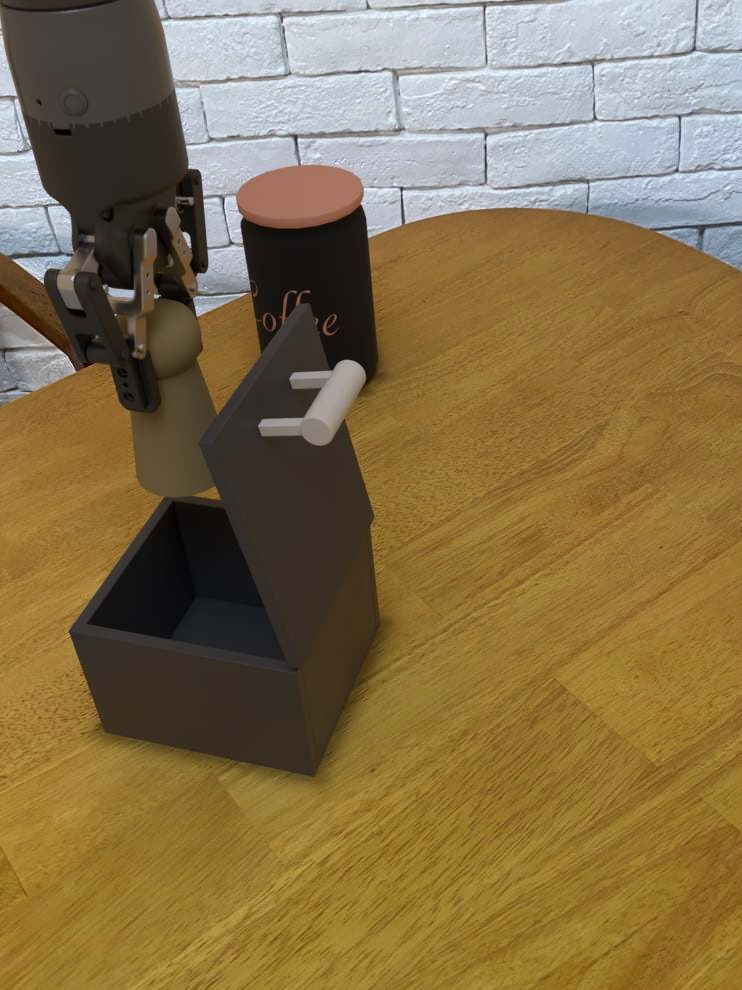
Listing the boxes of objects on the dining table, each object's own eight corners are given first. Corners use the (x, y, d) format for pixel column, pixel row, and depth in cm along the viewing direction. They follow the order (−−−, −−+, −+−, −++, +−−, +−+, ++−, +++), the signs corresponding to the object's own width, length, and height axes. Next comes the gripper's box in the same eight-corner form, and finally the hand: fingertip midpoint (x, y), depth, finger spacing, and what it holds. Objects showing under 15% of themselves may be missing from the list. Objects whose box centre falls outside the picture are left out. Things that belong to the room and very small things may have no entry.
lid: (197, 442, 54) (290, 440, 52) (297, 303, 64) (378, 297, 62) (288, 668, 64) (370, 673, 62) (364, 516, 73) (436, 517, 71)
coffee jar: (241, 386, 104) (208, 201, 93) (312, 334, 111) (290, 155, 99) (332, 420, 99) (309, 229, 88) (401, 363, 106) (389, 178, 94)
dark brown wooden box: (105, 735, 74) (68, 630, 67) (193, 595, 83) (167, 491, 77) (314, 780, 70) (296, 673, 64) (380, 628, 80) (370, 522, 73)
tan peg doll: (117, 487, 69) (73, 329, 62) (167, 432, 74) (131, 279, 66) (203, 505, 67) (168, 345, 60) (250, 448, 72) (222, 292, 64)
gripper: (97, 38, 61) (160, 314, 72) (-53, 140, 51) (46, 444, 62) (224, 42, 59) (268, 325, 71) (94, 150, 49) (170, 461, 60)
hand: (164, 380), depth 66 cm, fingers closed on tan peg doll, 5 cm apart
